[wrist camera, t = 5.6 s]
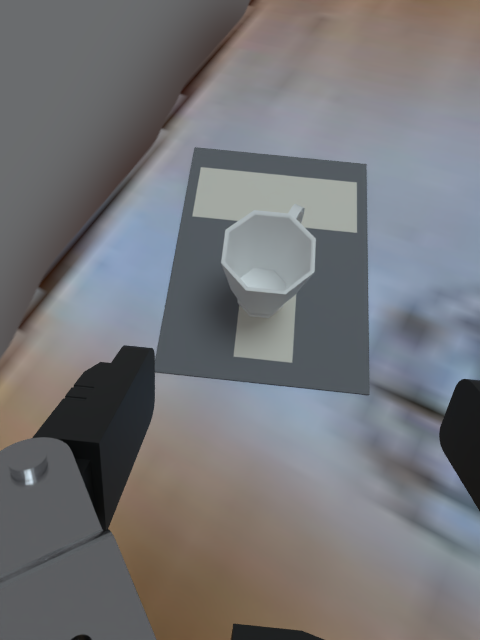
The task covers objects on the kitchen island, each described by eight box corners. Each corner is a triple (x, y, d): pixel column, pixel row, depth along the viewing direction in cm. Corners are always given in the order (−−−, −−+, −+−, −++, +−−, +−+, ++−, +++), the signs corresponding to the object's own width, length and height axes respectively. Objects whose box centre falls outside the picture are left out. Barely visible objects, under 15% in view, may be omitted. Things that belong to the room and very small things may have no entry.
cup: (207, 310, 34) (200, 267, 26) (258, 226, 37) (266, 165, 29) (278, 347, 33) (292, 313, 25) (325, 257, 36) (350, 202, 28)
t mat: (368, 395, 32) (369, 394, 32) (153, 371, 32) (153, 371, 32) (365, 165, 40) (366, 164, 40) (194, 148, 40) (194, 147, 40)
